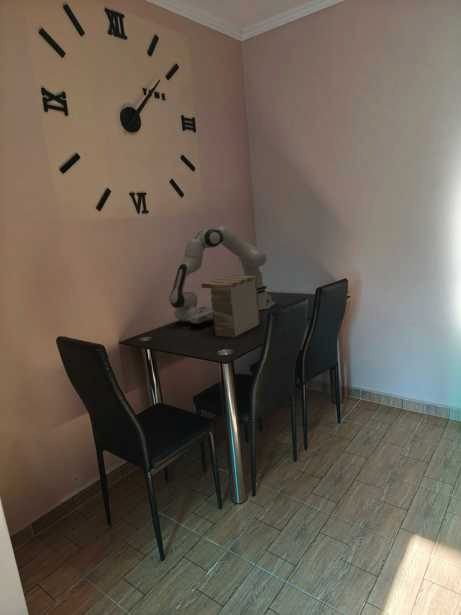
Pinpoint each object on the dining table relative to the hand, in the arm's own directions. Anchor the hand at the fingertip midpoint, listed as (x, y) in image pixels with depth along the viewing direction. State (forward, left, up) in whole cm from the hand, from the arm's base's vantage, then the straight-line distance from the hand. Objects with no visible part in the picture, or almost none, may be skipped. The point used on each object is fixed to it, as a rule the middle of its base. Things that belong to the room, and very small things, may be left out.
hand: (214, 316), depth 234 cm
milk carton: (0, +5, -6) cm, 8 cm away
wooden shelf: (0, +13, -6) cm, 14 cm away
